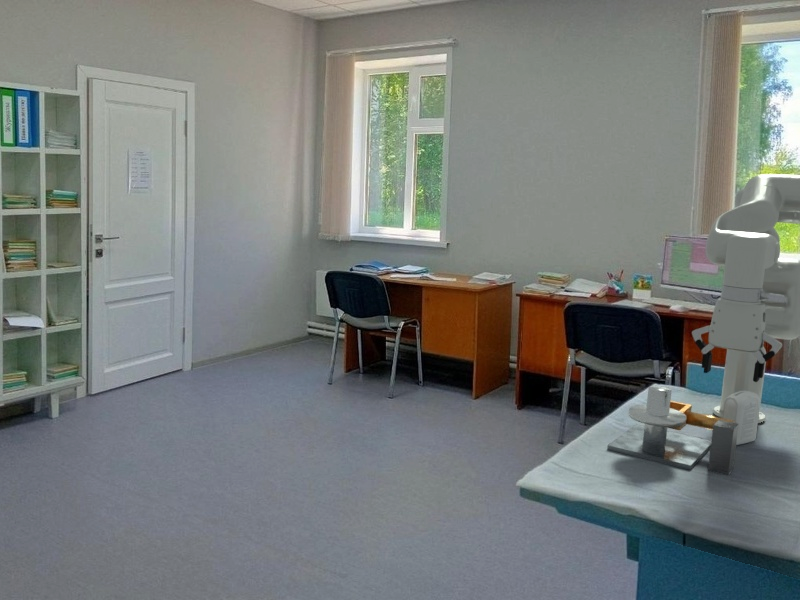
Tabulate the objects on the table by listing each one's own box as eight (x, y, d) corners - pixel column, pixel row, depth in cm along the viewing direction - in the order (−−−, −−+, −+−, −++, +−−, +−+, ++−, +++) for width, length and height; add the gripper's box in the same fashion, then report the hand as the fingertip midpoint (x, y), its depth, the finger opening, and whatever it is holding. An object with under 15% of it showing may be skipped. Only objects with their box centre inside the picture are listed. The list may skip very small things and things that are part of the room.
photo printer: (741, 435, 183) (747, 386, 181) (758, 441, 180) (764, 391, 178) (716, 442, 177) (722, 391, 175) (732, 448, 174) (739, 396, 172)
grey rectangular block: (713, 463, 163) (718, 419, 162) (733, 468, 161) (738, 423, 159) (707, 470, 159) (713, 425, 158) (727, 475, 157) (733, 429, 155)
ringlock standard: (635, 427, 185) (641, 368, 183) (734, 450, 172) (742, 387, 170) (604, 451, 167) (610, 386, 165) (711, 478, 154) (720, 408, 152)
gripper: (790, 298, 152) (779, 380, 155) (701, 288, 162) (692, 365, 165) (784, 302, 146) (773, 387, 149) (692, 291, 156) (683, 371, 159)
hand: (731, 376), depth 157 cm, fingers open, 9 cm apart
